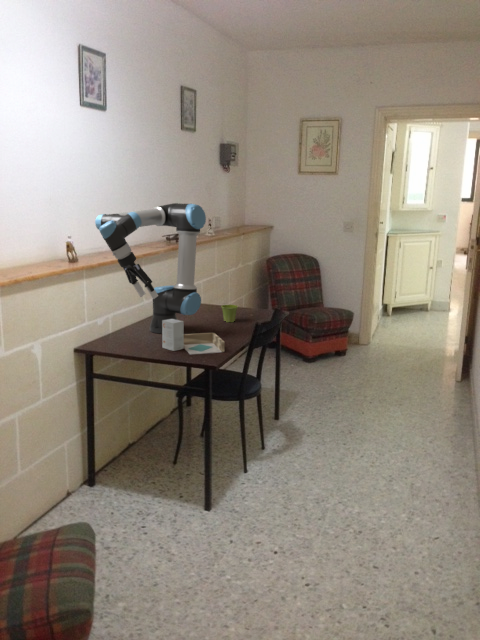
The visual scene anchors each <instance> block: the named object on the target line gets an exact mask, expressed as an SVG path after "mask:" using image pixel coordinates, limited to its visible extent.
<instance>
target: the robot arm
mask: <svg viewBox="0 0 480 640" xmlns="http://www.w3.org/2000/svg"><path fill="white" fill-rule="evenodd" d="M206 216H207V215H206V213H205V210H204V209H203V207H202V206H200V205H199V204H195V203H178V202H175V203H168V204H164V205H157V206H154V207H152V208H150V209H142V210H141V209H140V210H136V211H135V210H133V211H127V212H118V213H109V214H108V213H103V214H99V215H97V216H96V218H95V222H94V223H95V227H96V229H97V230H99V233H100V235H101V236H102V239H103V240H104V241H105V243H106V244H107V247H108V248H109V250H110V251H111V253H112V257H113V256H114V257H115V259H116V260H117V262H118V264H119V266H120V267H121V268H123V269H122V270H124V272H125V275H126V278H127V280H128V282H129V284H131V285H132V286H133V287H134V289H135V290H136V291H135V292H137V294H138V296H139V297H140V298H142V297H144V296H145V295H146V291H144V289H143V287H142V285H141V284H140V282H142V284H144V288H146V290H147V292H148V294H149V296H150V297H151V299H152V318H151V320H150V321H151V322H150V324H149V331H150V332H151V333H155V334H162V320H168V319H175V320H178V318H177V314H180V315H183V316H193V315H194V314H196V313H197V312H198V311H199V310H200V307H201V304H202V297H201V296H200V293H198V291H197V290H198V287H196V286H197V285H195V273H196V254H197V239H198V238H197V237H198V235H199V234H200V233H201V229H202V228H204V226H205V225H206V220H207V217H206ZM148 226H157V227H172V228H175V230H176V231H175V232H177V233H176V234H178V248H177V249H178V251H177V253H178V254H177V271H176V272H177V274H176V284H175V285H162V286H156V287H154V285H153V284H152V283H153V280H152V279H151V278H150V277H149V276H148V274H147V273H146V272H145V271H144V269H143V268H142V267H141V265H140V264H139V263H135V262H136V261H137V257H136V255H135V254H134V252H133V251H132V248H131V247H130V245H129V244H128V242H127V240H126V238H127V237H128V236H130V235H131V234H132V233H134V232H135V231H137V230H138V229H139V228H142V227H143V228H144V227H148ZM137 278H138V279H137ZM139 280H140V282H139Z"/></svg>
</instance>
